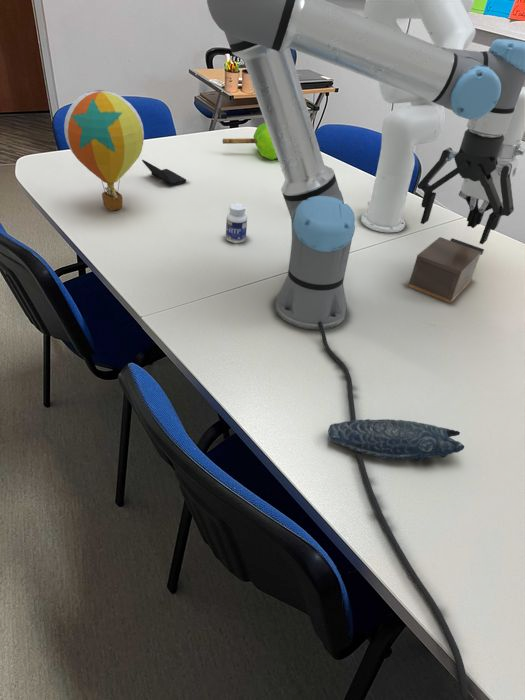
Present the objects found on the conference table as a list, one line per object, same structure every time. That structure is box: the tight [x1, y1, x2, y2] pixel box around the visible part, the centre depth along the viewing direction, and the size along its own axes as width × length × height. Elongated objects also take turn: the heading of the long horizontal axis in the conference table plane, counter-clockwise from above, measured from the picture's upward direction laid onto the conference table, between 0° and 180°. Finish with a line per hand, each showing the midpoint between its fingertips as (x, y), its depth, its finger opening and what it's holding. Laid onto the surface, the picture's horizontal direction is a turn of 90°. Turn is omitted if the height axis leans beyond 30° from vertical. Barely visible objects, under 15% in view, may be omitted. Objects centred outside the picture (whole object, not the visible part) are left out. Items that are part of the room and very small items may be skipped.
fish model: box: [327, 418, 465, 461], centre depth 82 cm, size 7×21×5 cm, turn 84°
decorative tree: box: [222, 122, 278, 161], centre depth 186 cm, size 18×10×30 cm
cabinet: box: [407, 236, 482, 304], centre depth 123 cm, size 13×11×8 cm
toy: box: [63, 89, 145, 212], centre depth 136 cm, size 20×20×30 cm
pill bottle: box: [225, 203, 248, 244], centre depth 133 cm, size 5×5×9 cm
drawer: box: [450, 237, 485, 256], centre depth 127 cm, size 18×9×6 cm, turn 142°
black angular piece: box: [141, 159, 187, 187], centre depth 162 cm, size 12×7×10 cm
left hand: (452, 231), depth 115 cm, fingers open, 13 cm apart
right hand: (472, 225), depth 126 cm, fingers closed
